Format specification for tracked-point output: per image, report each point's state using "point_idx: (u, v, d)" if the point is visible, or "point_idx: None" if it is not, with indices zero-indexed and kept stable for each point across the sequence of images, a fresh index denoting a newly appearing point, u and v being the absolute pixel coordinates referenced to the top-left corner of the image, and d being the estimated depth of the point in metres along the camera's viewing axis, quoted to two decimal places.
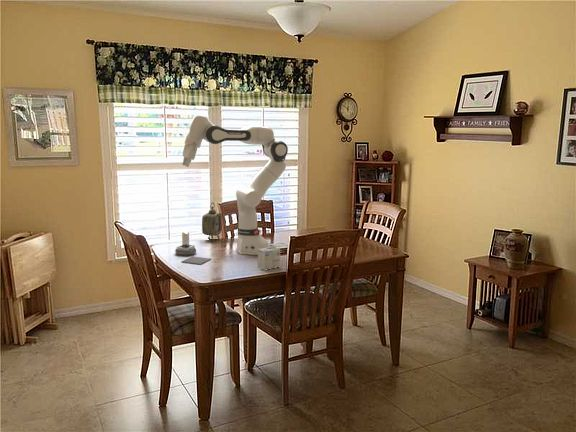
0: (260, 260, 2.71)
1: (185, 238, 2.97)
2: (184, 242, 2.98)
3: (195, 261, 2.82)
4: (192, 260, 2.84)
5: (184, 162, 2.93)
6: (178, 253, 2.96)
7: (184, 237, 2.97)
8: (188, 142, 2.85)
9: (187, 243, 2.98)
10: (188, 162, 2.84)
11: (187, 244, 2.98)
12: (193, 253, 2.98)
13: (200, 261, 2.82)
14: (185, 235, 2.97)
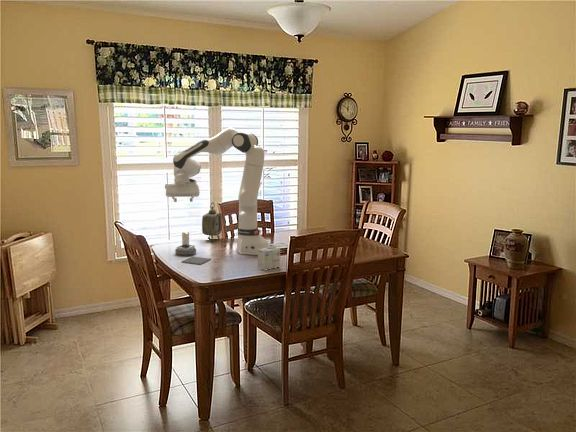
0: (260, 260, 2.71)
1: (185, 238, 2.97)
2: (184, 242, 2.98)
3: (195, 261, 2.82)
4: (192, 260, 2.84)
5: None
6: (178, 253, 2.96)
7: (184, 237, 2.97)
8: None
9: (187, 243, 2.98)
10: (173, 198, 3.07)
11: (187, 244, 2.98)
12: (193, 253, 2.98)
13: (200, 261, 2.82)
14: (185, 235, 2.97)
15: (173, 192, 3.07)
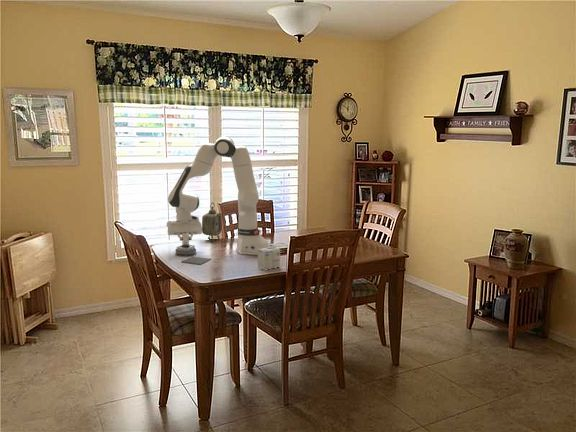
0: (260, 260, 2.71)
1: (185, 238, 2.97)
2: (184, 242, 2.98)
3: (195, 261, 2.82)
4: (192, 260, 2.84)
5: None
6: (178, 253, 2.96)
7: (184, 237, 2.97)
8: None
9: (187, 243, 2.98)
10: (178, 236, 2.99)
11: (187, 244, 2.98)
12: (193, 253, 2.98)
13: (200, 261, 2.82)
14: (185, 235, 2.97)
15: (175, 230, 2.99)
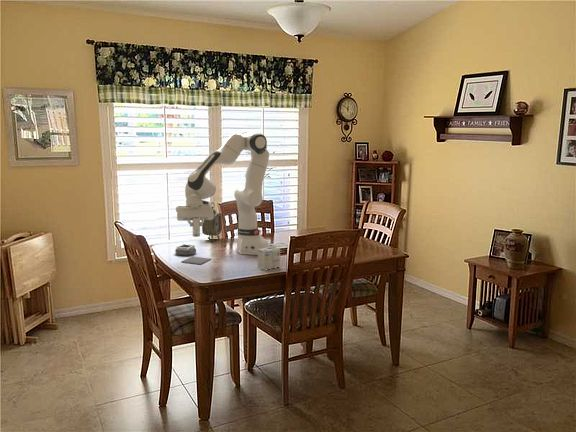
0: (260, 260, 2.71)
1: (196, 224, 2.79)
2: (195, 228, 2.80)
3: (195, 261, 2.82)
4: (192, 260, 2.84)
5: None
6: (178, 253, 2.96)
7: (195, 223, 2.79)
8: None
9: (198, 229, 2.80)
10: (188, 222, 2.81)
11: (198, 230, 2.81)
12: (193, 253, 2.98)
13: (200, 261, 2.82)
14: (196, 220, 2.79)
15: (185, 216, 2.81)
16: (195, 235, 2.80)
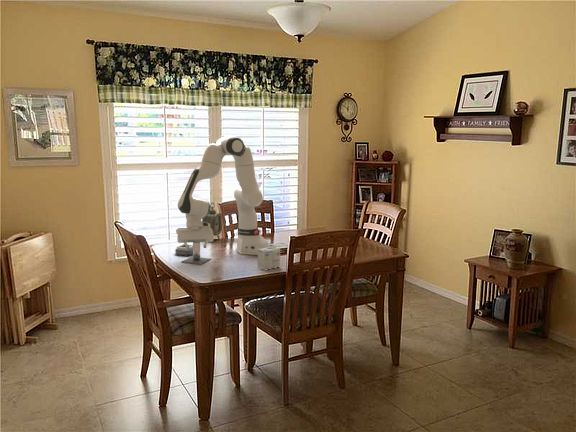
0: (260, 260, 2.71)
1: (196, 248, 2.82)
2: (195, 252, 2.82)
3: (195, 261, 2.82)
4: (192, 260, 2.84)
5: (203, 245, 2.85)
6: (178, 253, 2.96)
7: (195, 247, 2.82)
8: None
9: (198, 253, 2.83)
10: (185, 244, 2.83)
11: (198, 254, 2.83)
12: None
13: (200, 261, 2.82)
14: (196, 245, 2.81)
15: (185, 238, 2.83)
16: (195, 259, 2.83)
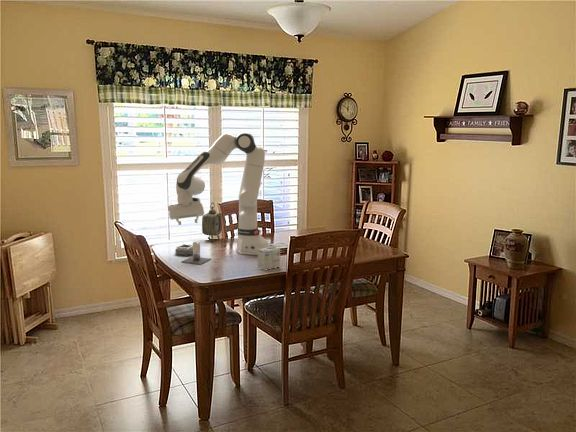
0: (260, 260, 2.71)
1: (196, 248, 2.82)
2: (195, 252, 2.82)
3: (195, 261, 2.82)
4: (192, 260, 2.84)
5: None
6: (178, 253, 2.96)
7: (195, 247, 2.82)
8: None
9: (198, 253, 2.83)
10: (177, 221, 2.97)
11: (198, 254, 2.83)
12: None
13: (200, 261, 2.82)
14: (196, 245, 2.81)
15: (177, 215, 2.97)
16: (195, 259, 2.83)
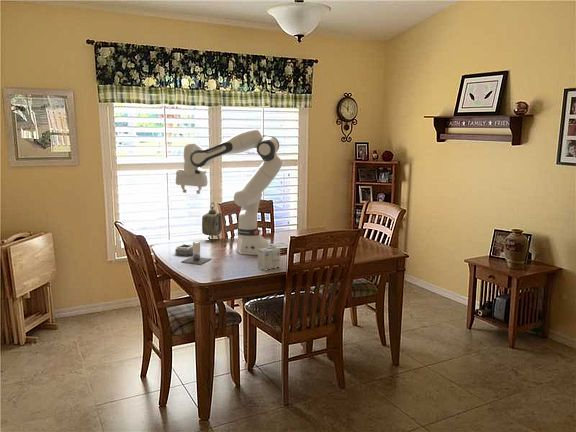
0: (260, 260, 2.71)
1: (196, 248, 2.82)
2: (195, 252, 2.82)
3: (195, 261, 2.82)
4: (192, 260, 2.84)
5: None
6: (178, 253, 2.96)
7: (195, 247, 2.82)
8: None
9: (198, 253, 2.83)
10: None
11: (198, 254, 2.83)
12: None
13: (200, 261, 2.82)
14: (196, 245, 2.81)
15: (181, 183, 3.08)
16: (195, 259, 2.83)
